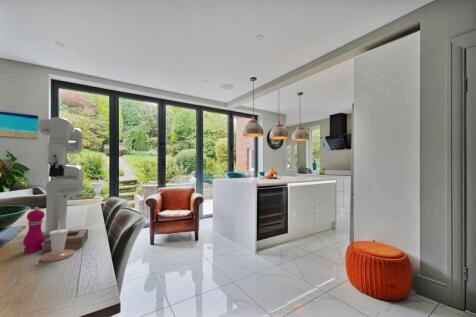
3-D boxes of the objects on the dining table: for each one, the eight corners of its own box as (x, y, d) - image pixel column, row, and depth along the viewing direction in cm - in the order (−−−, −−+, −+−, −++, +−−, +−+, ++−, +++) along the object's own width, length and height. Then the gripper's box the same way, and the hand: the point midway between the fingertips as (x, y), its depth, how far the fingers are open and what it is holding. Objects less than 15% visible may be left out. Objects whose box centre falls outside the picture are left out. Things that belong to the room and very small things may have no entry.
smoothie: (45, 257, 86) (47, 223, 87) (50, 252, 92) (52, 220, 92) (65, 255, 89) (67, 222, 90) (68, 250, 94) (70, 218, 95)
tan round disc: (45, 254, 92) (45, 251, 92) (76, 249, 97) (76, 247, 97) (35, 263, 82) (35, 261, 83) (70, 258, 87) (70, 256, 87)
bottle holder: (55, 241, 108) (55, 231, 108) (87, 237, 114) (88, 228, 115) (43, 252, 94) (44, 241, 94) (81, 247, 100) (81, 237, 100)
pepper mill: (30, 254, 92) (33, 208, 93) (17, 252, 93) (21, 207, 95) (48, 248, 99) (50, 205, 100) (36, 246, 101) (39, 205, 102)
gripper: (54, 143, 110) (52, 175, 109) (42, 139, 95) (39, 176, 94) (72, 144, 114) (70, 175, 113) (63, 140, 98) (60, 176, 97)
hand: (56, 176), depth 103 cm, fingers open, 9 cm apart
